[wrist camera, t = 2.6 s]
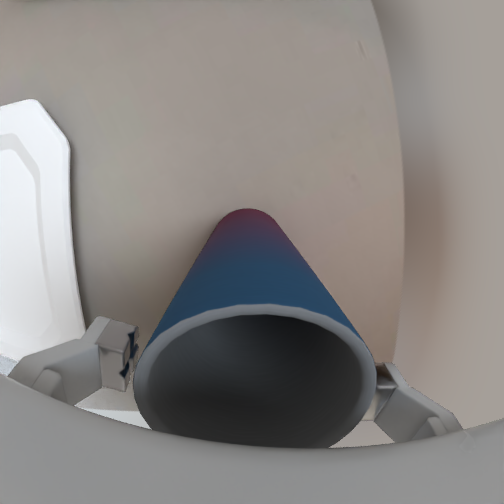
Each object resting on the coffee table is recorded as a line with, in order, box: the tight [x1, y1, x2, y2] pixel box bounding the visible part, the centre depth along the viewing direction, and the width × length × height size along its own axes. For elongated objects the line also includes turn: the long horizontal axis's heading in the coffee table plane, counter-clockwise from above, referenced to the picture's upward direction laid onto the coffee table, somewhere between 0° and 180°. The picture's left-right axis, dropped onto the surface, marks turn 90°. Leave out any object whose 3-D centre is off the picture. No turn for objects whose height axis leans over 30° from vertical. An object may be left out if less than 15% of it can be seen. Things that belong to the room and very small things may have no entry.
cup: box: [133, 209, 377, 448], centre depth 14 cm, size 7×7×15 cm
